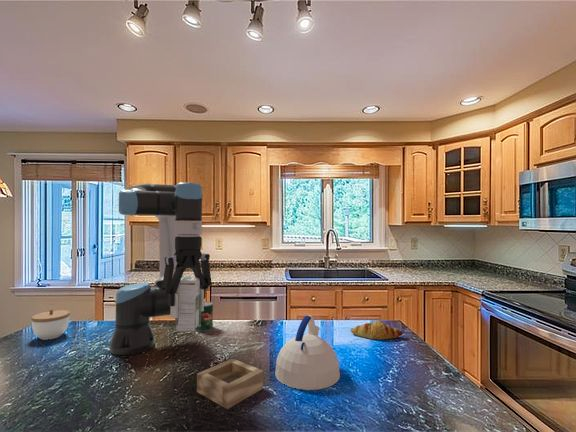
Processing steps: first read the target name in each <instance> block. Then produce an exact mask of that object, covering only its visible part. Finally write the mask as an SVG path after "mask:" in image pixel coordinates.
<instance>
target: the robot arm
mask: <svg viewBox="0 0 576 432" xmlns="http://www.w3.org/2000/svg"><path fill="white" fill-rule="evenodd" d="M203 196H204V195H203V187H202V185H201V184H200V183H195V182H178V183H177V184H176V185H175V184H159V183H157V184H156V183H141V184H140V183H139V184H134V185H131V186H128V187H127V188H126V189H121V190H120V191H119V192H118V213H119V215H122V216H154V217H155V218H157V219H158V241H159V242H158V243H159V245H158V248H159V250H158V251H159V253H158V254H159V277H158V278H157V279H156V280H155V285H153V286H152V285H151V284H150V282H137V283H133V284H128V285H125V286H122V287H120V288H119V289H117V291H116V293H115V302H114V304H115V319H114V320H115V325H114V326H115V328H114V331H113V334H112V337H111V340H110V343H109V353H111V354H113V355H117V356H128V355H135V354H136V355H137V354H140V353H143V352H146V351H148V350H150V349H152V348H154V345H155V337H154V334H153V331H152V327H151V323H150V320H151V319H150V318H156V317H157V318H158V317H165V316H170V317H171V318H174V319H175V318H178V294H176V291H177V289H178V286H179V283H180V280H181V278H182V277H185V276H184V273H185V272H186V270H187V269H188V268H190V269H191V270H192V273H193V274H194V277H197V278H199V279H200V299H199V311H204V302H205V299H206V298H207V297H206V294H207V292H206V291H207V290H208V289H209V286H212V284H213V283H212V276H211V268H210V267H211V266H210V257H211V256H210V254H209V253H202V251H201V249H202V247H203V246H202V244H203V243H202V242H203V239H202V236H200V235H202V234H203V233H202V232H203V229H202V227H203V221H202V220H203Z"/></svg>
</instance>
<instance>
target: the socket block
mask: <svg viewBox="0 0 576 432" xmlns="http://www.w3.org/2000/svg"><path fill="white" fill-rule="evenodd" d="M261 390H264V370H263V369H260V368H258V367H255V366H252V365H250V364H248V363H246V362H243V361H240V360H238V359H235V358H230V359H227V360H225V361H224V362H220V363H219V364H217V365H214V366H211V367H210V368H207V369H204V370H203V371H199V372H198V373H197V374H196V393H198V394H199V395H201V396H203V397H205V398H207V399H208V400H210V401H211V402H214V403H216V404H217V405H219V406H220V407H222V408H224V409H227V410H229V409H230V408H232V407H234V406H236V405H238V404H239V403H241V402H242V401H244V400H246V399H247V398H249V397H251V396H253V395H254V394H256V393H258V392H259V391H261Z"/></svg>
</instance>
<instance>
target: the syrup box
mask: <svg viewBox="0 0 576 432" xmlns="http://www.w3.org/2000/svg"><path fill="white" fill-rule="evenodd" d="M176 294H178V318H174V332H196V328H197V326H198V325H199V299H200V279H199V278H197V277H195V276H184V277H182V278H181V280H180V283H179V286H178V289H177V291H176Z"/></svg>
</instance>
